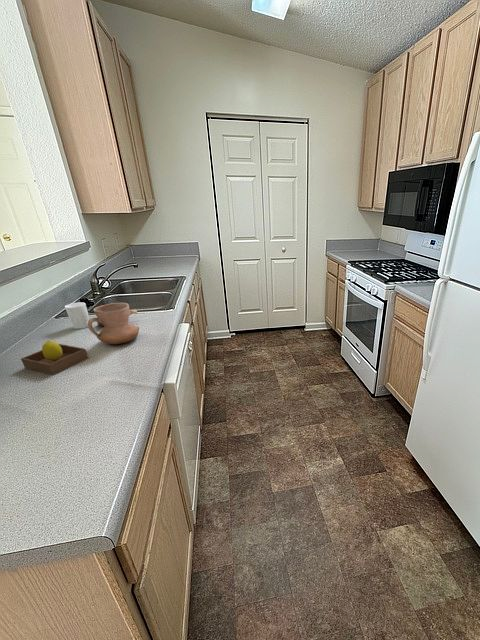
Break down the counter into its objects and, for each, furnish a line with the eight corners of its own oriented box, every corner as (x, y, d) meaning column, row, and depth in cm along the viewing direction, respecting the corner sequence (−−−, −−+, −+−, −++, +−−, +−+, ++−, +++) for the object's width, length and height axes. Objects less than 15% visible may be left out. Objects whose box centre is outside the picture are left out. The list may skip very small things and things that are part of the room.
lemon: (56, 357, 120) (48, 337, 116) (69, 358, 119) (61, 338, 115) (43, 364, 115) (34, 343, 111) (56, 365, 114) (48, 344, 110)
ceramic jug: (139, 330, 144) (130, 298, 138) (147, 340, 134) (138, 307, 127) (92, 340, 135) (81, 307, 129) (96, 352, 125) (84, 317, 118)
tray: (25, 368, 114) (20, 358, 113) (61, 352, 125) (58, 343, 124) (53, 375, 110) (49, 365, 108) (88, 358, 121) (85, 348, 119)
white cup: (70, 326, 150) (62, 305, 146) (89, 321, 155) (83, 301, 151) (74, 330, 145) (66, 309, 141) (94, 326, 150) (87, 304, 145)
